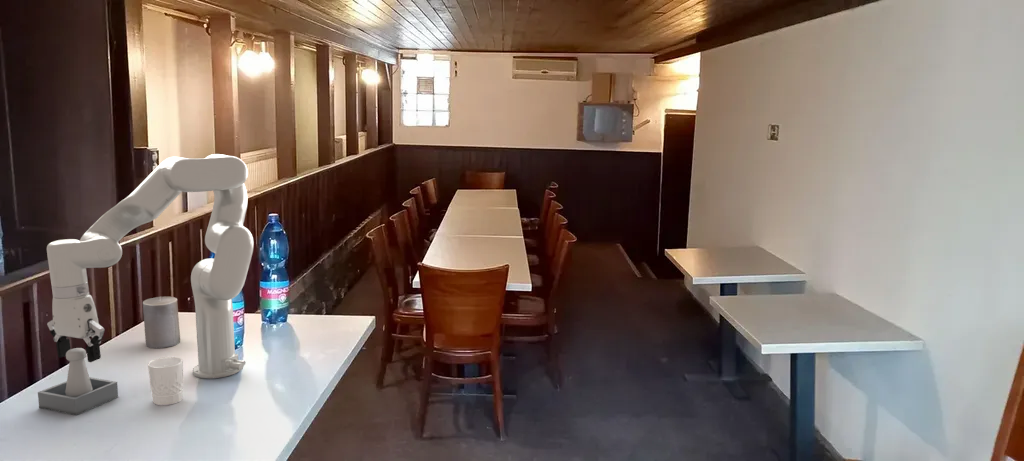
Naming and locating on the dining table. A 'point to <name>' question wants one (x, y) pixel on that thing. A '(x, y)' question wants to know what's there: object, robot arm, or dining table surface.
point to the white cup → (166, 380)
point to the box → (60, 402)
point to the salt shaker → (77, 373)
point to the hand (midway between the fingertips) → (79, 358)
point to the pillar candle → (161, 322)
